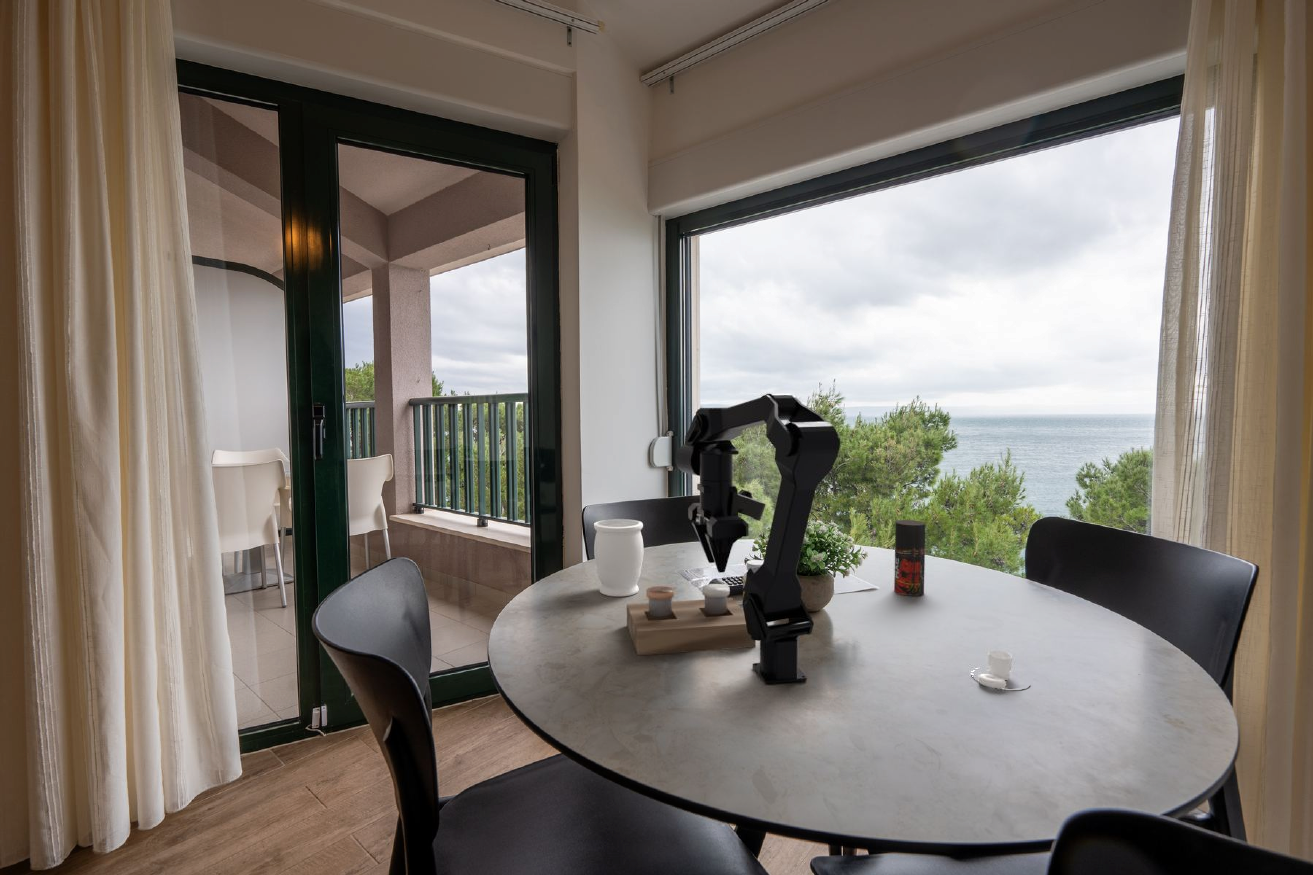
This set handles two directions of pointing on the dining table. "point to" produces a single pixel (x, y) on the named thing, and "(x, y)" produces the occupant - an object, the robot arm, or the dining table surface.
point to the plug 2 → (715, 598)
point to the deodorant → (909, 557)
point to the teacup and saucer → (996, 670)
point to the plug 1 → (660, 600)
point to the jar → (618, 556)
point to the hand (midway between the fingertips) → (716, 567)
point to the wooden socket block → (687, 628)
